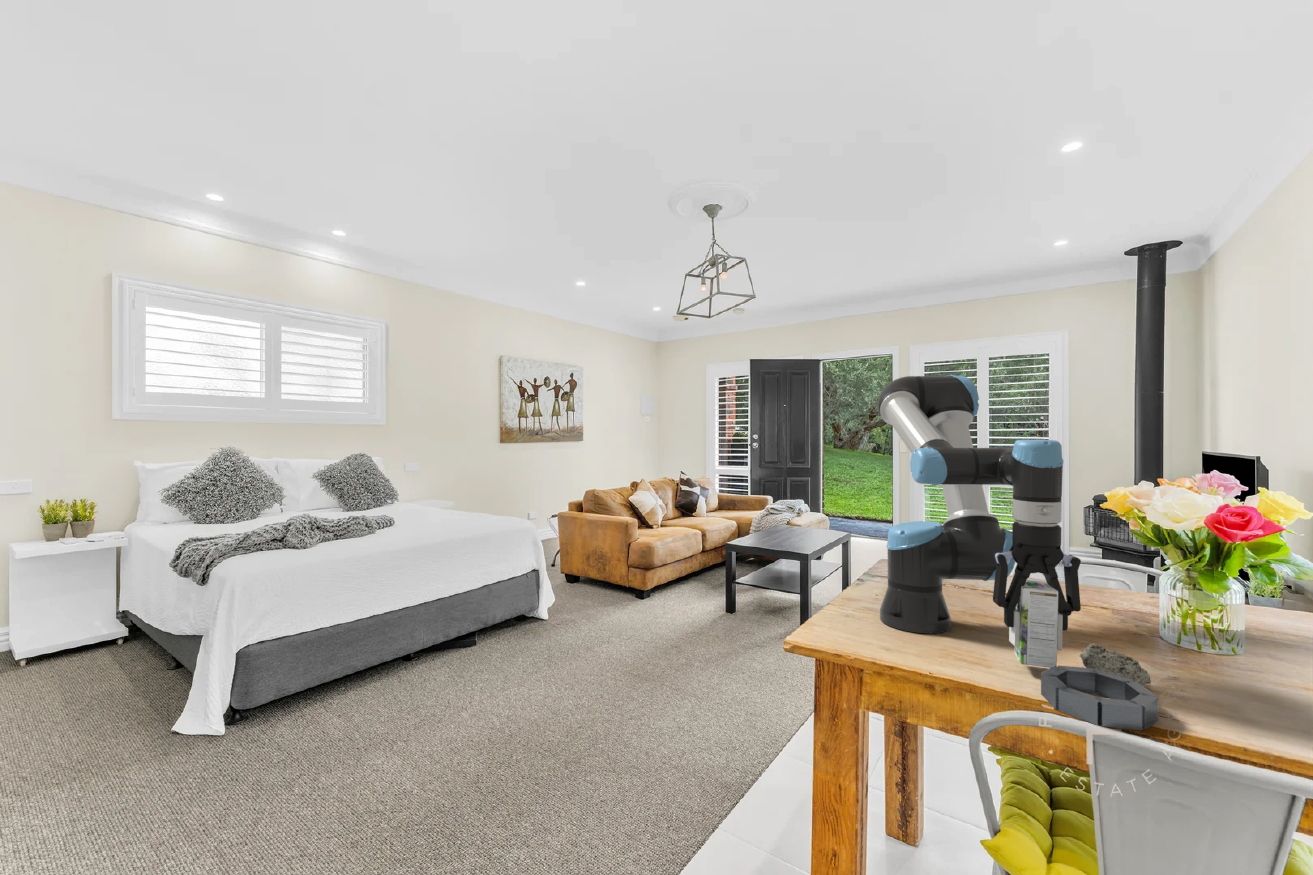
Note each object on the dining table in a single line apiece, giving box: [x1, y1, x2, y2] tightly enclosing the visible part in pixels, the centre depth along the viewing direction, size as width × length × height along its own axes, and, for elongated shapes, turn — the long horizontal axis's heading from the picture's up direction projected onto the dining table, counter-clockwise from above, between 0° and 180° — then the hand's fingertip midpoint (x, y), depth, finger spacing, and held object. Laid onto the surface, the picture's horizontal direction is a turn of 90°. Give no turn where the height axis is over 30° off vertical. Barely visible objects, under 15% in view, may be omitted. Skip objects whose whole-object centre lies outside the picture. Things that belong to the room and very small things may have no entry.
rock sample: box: [1077, 643, 1153, 687], centre depth 97 cm, size 10×8×9 cm
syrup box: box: [1013, 579, 1058, 669], centre depth 103 cm, size 6×6×14 cm
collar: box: [1040, 665, 1159, 731], centre depth 90 cm, size 14×14×4 cm
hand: (1035, 645), depth 103 cm, fingers closed on syrup box, 6 cm apart
